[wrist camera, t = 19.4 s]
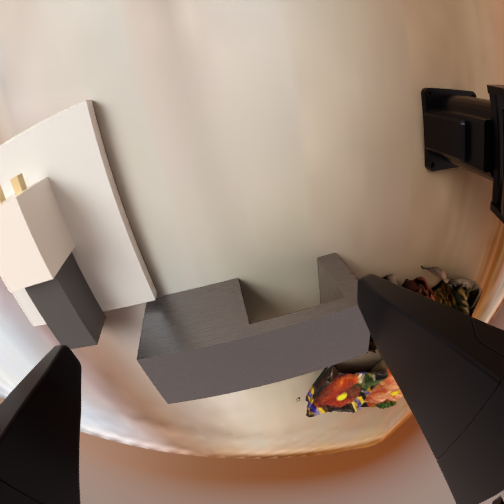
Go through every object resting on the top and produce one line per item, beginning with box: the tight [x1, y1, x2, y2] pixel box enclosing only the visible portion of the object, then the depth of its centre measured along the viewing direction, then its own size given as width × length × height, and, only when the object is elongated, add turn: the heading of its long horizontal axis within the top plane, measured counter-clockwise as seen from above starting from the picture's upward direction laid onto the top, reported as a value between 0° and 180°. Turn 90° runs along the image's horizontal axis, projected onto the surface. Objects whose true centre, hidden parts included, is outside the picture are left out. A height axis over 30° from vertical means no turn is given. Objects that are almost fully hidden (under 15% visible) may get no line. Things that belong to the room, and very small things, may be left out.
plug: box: [0, 173, 106, 349], centre depth 15 cm, size 4×12×4 cm, turn 12°
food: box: [296, 266, 482, 417], centre depth 29 cm, size 22×19×4 cm
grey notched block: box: [137, 253, 370, 404], centre depth 20 cm, size 14×5×6 cm, turn 101°
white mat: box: [0, 100, 157, 326], centre depth 17 cm, size 12×14×1 cm
